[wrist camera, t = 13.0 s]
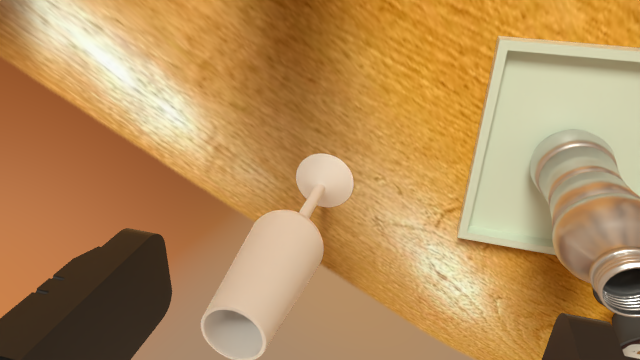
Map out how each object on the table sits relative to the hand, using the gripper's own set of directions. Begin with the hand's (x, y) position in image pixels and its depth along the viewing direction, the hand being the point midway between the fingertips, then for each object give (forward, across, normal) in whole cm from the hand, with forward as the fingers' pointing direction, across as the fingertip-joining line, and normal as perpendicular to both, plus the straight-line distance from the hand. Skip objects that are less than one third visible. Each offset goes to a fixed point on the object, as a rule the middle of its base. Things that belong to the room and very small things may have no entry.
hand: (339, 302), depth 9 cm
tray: (+37, -14, +11) cm, 41 cm away
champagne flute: (+38, +9, +17) cm, 42 cm away
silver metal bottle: (+37, -14, +11) cm, 41 cm away
